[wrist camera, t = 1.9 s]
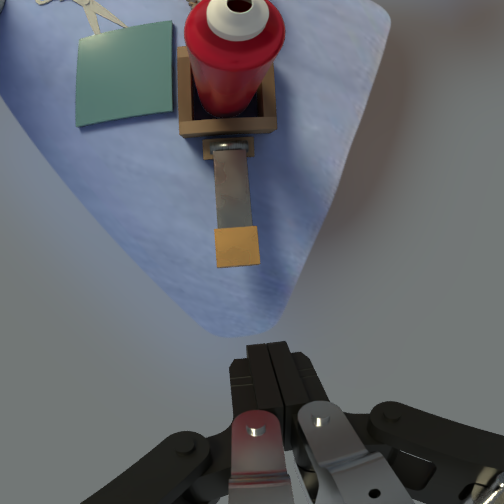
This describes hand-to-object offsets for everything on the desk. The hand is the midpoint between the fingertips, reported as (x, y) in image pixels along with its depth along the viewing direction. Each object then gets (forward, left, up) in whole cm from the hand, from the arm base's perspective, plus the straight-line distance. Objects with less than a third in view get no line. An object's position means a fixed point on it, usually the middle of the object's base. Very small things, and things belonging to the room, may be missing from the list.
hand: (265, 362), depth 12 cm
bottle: (0, +15, -23) cm, 28 cm away
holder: (0, +14, -23) cm, 27 cm away
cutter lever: (0, +4, -19) cm, 19 cm away
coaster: (-11, +19, -23) cm, 32 cm away
